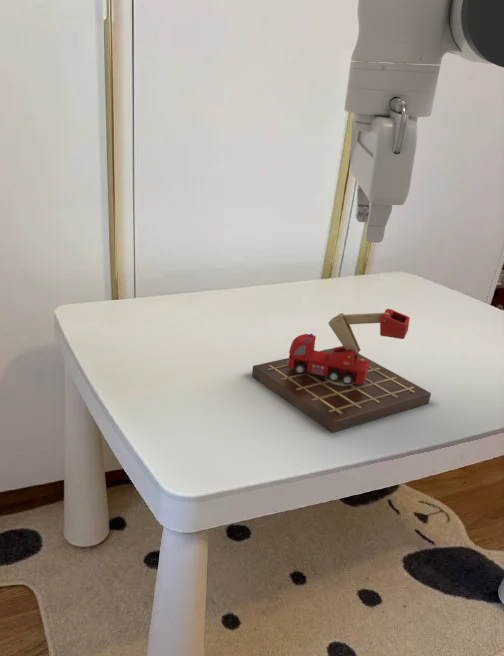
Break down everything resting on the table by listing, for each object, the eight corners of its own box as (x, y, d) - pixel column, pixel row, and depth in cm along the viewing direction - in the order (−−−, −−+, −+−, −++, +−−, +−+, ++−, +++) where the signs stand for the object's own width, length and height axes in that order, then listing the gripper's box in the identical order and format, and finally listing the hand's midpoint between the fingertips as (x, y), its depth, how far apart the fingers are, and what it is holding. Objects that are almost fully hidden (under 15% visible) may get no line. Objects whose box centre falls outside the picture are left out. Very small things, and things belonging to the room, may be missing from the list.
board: (428, 403, 79) (431, 391, 78) (332, 433, 72) (334, 420, 71) (342, 354, 91) (344, 344, 90) (251, 375, 84) (252, 364, 83)
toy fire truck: (291, 361, 84) (300, 291, 80) (395, 384, 80) (412, 312, 75) (284, 370, 81) (293, 299, 77) (391, 395, 77) (408, 321, 72)
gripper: (443, 102, 56) (412, 257, 62) (404, 92, 74) (383, 213, 80) (371, 99, 56) (348, 252, 63) (349, 89, 74) (333, 210, 81)
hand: (367, 230), depth 72 cm, fingers open, 8 cm apart
